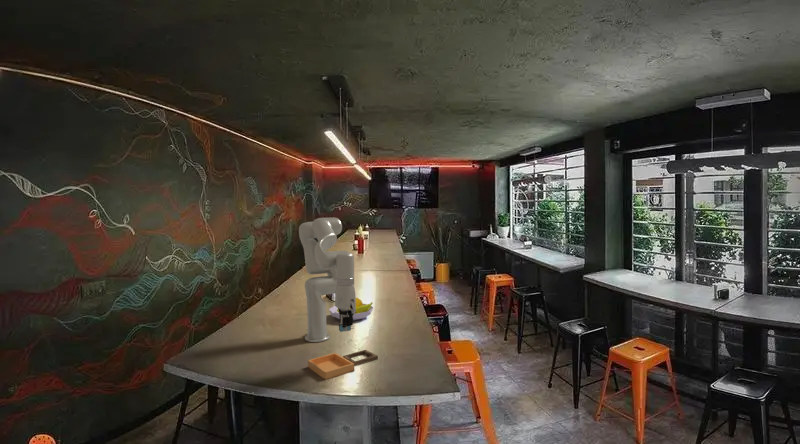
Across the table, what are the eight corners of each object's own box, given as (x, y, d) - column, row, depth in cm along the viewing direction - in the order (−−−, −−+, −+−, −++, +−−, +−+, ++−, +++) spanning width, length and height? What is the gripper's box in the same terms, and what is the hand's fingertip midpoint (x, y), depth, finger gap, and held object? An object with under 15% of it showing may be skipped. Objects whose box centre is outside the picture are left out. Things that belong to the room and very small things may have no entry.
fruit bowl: (321, 318, 238) (320, 299, 238) (357, 309, 256) (357, 292, 256) (346, 328, 217) (346, 308, 217) (384, 318, 235) (384, 299, 235)
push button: (352, 327, 171) (352, 305, 170) (355, 331, 166) (355, 308, 165) (337, 329, 168) (337, 306, 168) (340, 333, 163) (339, 309, 163)
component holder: (342, 359, 172) (342, 356, 172) (365, 352, 180) (365, 349, 180) (354, 366, 165) (354, 362, 164) (377, 359, 172) (377, 355, 172)
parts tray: (308, 367, 164) (307, 360, 164) (335, 359, 172) (335, 352, 172) (325, 380, 152) (325, 372, 152) (354, 371, 160) (354, 363, 160)
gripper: (327, 280, 170) (328, 321, 171) (348, 286, 157) (349, 330, 158) (342, 278, 175) (343, 318, 176) (363, 283, 162) (364, 327, 163)
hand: (346, 323), depth 167 cm, fingers closed on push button, 4 cm apart
